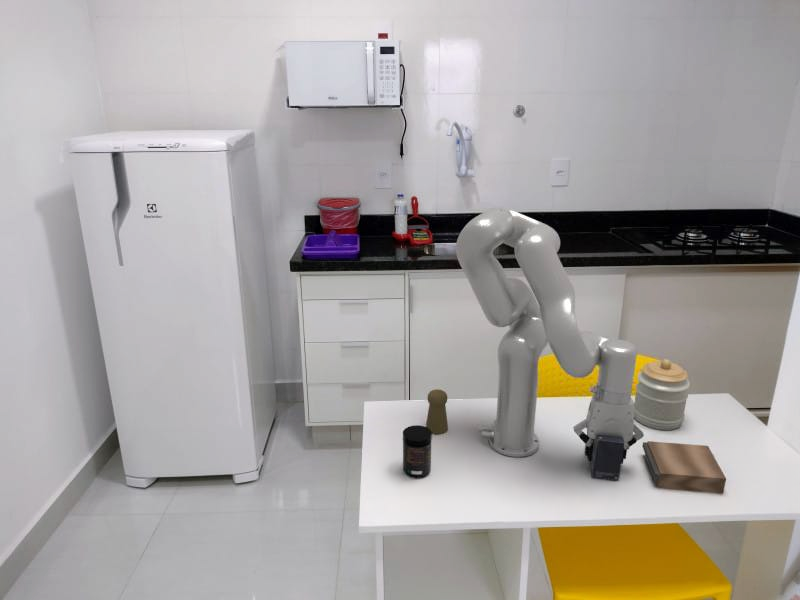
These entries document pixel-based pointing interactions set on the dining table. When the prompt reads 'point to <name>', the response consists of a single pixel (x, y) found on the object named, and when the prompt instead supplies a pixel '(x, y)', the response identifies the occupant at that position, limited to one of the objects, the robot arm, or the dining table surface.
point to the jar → (661, 395)
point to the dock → (684, 467)
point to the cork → (437, 412)
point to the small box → (607, 457)
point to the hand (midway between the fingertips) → (604, 458)
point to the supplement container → (417, 451)
